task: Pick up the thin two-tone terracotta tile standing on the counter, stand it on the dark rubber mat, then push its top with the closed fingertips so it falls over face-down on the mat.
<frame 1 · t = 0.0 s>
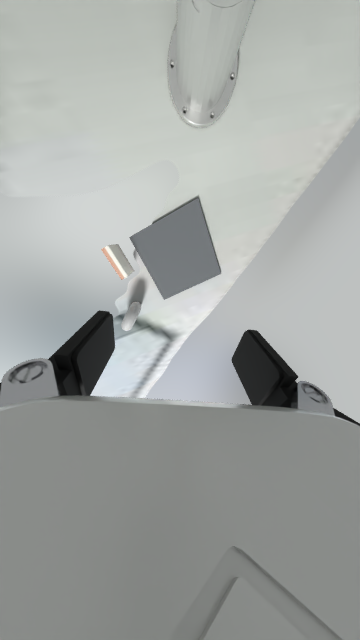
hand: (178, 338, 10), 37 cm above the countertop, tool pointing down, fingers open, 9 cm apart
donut: (135, 308, 50), on the countertop
mat: (178, 256, 42), on the countertop
tile: (123, 259, 41), on the countertop
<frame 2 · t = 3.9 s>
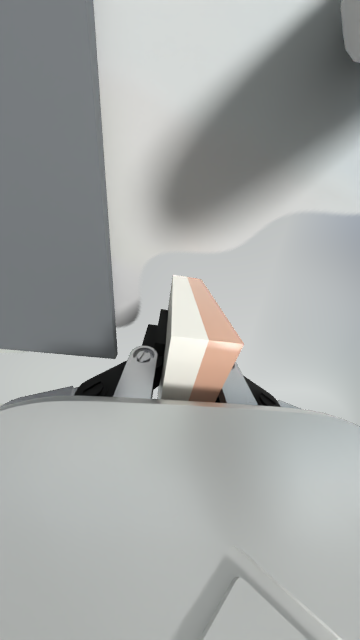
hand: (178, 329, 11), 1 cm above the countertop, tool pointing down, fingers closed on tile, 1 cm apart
tile: (178, 325, 12), on the countertop, touching gripper
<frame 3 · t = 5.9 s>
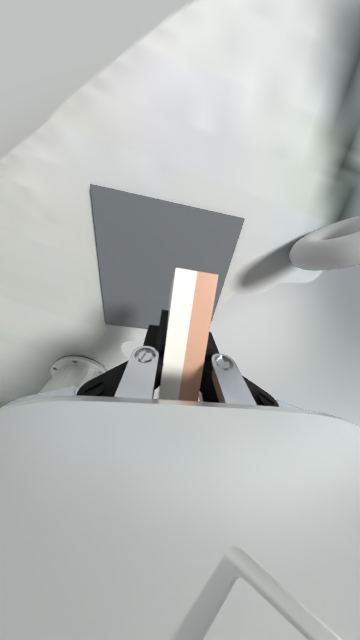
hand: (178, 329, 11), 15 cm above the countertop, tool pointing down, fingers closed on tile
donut: (306, 242, 22), on the countertop
mat: (164, 278, 23), on the countertop
tile: (175, 329, 14), point 12 cm above the countertop, tilted 23°, touching gripper
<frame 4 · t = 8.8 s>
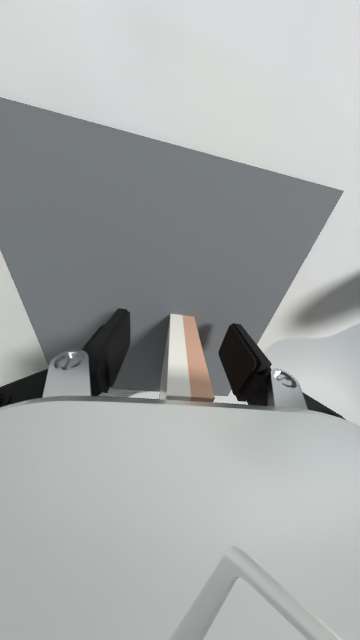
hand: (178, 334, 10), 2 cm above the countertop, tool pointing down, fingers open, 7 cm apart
mat: (155, 315, 12), on the countertop
tile: (175, 350, 14), point 1 cm above the countertop, touching mat
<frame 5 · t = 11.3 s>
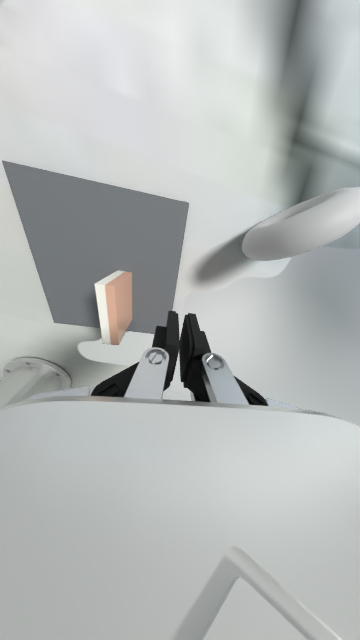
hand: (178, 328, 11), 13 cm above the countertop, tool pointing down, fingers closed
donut: (264, 231, 19), on the countertop
mat: (110, 272, 21), on the countertop
tile: (125, 296, 23), point 1 cm above the countertop, touching mat
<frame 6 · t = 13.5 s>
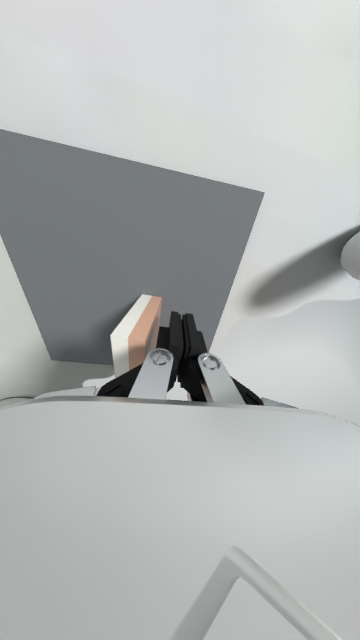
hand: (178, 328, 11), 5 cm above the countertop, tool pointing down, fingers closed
mat: (131, 296, 15), on the countertop
tile: (150, 328, 16), point 1 cm above the countertop, touching gripper, mat
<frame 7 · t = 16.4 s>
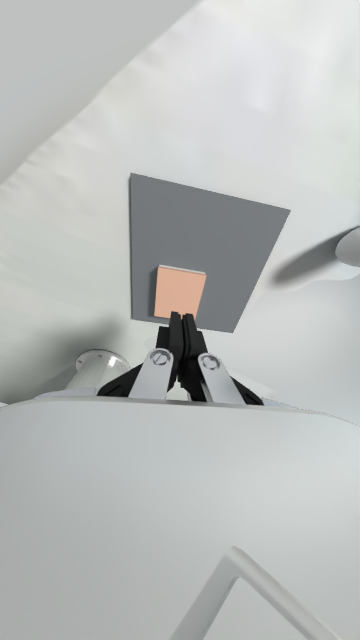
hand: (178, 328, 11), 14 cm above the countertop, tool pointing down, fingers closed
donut: (353, 235, 20), on the countertop
mat: (195, 274, 23), on the countertop
tile: (199, 298, 23), point 2 cm above the countertop, tilted 90°, touching mat
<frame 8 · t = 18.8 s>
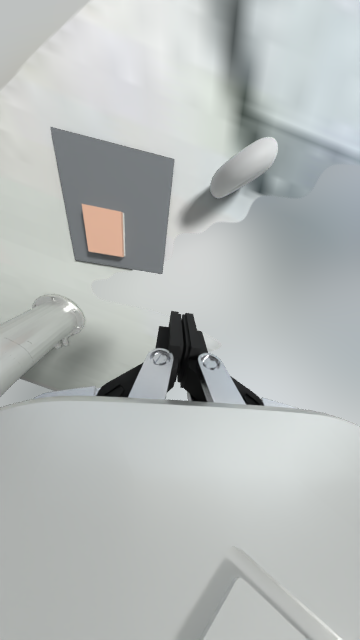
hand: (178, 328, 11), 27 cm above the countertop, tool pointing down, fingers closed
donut: (229, 183, 27), on the countertop
mat: (119, 216, 29), on the countertop
tile: (123, 236, 29), point 2 cm above the countertop, tilted 90°, touching mat
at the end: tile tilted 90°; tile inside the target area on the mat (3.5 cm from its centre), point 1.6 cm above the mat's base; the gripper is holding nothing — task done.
